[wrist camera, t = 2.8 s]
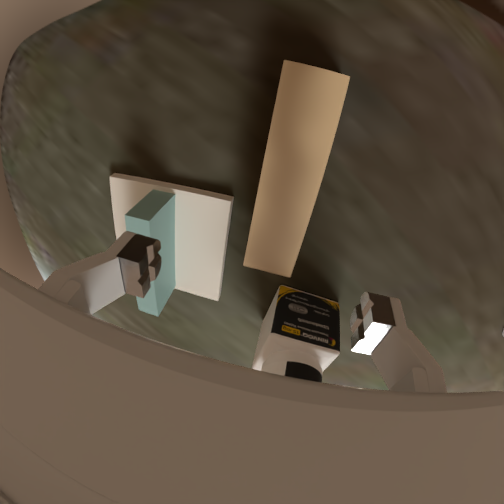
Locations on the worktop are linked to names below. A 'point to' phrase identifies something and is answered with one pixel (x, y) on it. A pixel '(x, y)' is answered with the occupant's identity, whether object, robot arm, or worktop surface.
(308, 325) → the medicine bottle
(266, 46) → the worktop surface
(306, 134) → the batten
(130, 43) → the worktop surface
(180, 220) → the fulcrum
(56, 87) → the worktop surface
